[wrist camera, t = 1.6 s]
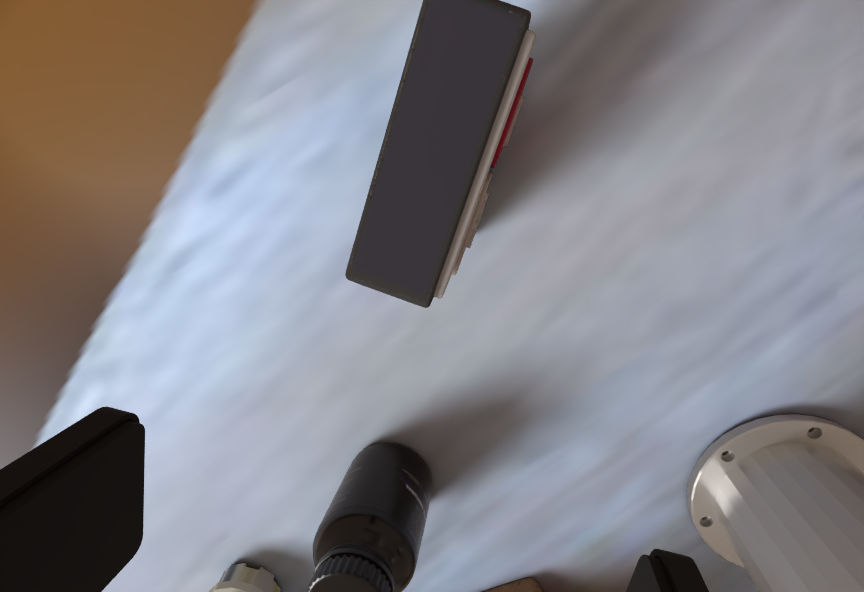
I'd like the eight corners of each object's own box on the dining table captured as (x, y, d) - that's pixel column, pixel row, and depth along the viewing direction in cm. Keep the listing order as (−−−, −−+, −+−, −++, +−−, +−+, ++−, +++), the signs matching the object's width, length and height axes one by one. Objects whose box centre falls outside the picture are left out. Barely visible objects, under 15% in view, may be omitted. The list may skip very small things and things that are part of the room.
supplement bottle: (449, 465, 38) (427, 598, 27) (409, 526, 40) (374, 673, 29) (371, 423, 38) (316, 539, 27) (336, 486, 40) (271, 618, 29)
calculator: (468, 248, 33) (445, 319, 19) (409, 227, 33) (341, 281, 19) (529, 81, 30) (556, 15, 16) (463, 59, 30) (430, -28, 16)
